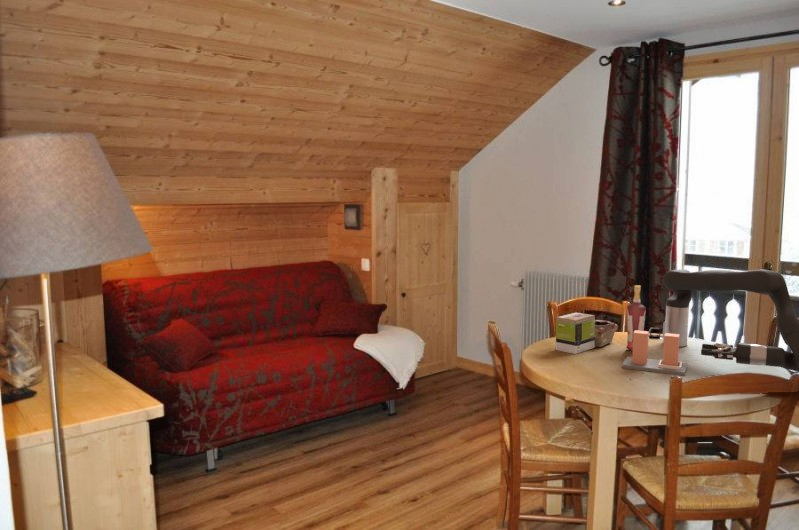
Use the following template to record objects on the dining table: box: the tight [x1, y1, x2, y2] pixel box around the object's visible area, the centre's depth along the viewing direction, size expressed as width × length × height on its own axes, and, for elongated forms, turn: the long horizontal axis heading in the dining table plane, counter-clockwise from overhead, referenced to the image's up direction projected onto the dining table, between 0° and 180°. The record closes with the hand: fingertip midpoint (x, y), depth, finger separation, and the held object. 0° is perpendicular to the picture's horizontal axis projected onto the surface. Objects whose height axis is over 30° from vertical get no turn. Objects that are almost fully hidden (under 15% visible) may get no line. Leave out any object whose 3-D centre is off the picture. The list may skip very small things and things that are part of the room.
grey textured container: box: [594, 319, 618, 348], centre depth 283 cm, size 13×20×10 cm, turn 134°
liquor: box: [625, 284, 647, 353], centre depth 267 cm, size 7×7×28 cm
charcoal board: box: [621, 330, 688, 377], centre depth 244 cm, size 22×14×13 cm, turn 63°
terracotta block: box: [662, 333, 680, 366], centre depth 241 cm, size 5×5×12 cm
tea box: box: [555, 312, 596, 355], centre depth 271 cm, size 15×10×15 cm, turn 131°
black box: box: [648, 327, 663, 340], centre depth 294 cm, size 13×8×5 cm, turn 76°
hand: (701, 349), depth 236 cm, fingers open, 8 cm apart
